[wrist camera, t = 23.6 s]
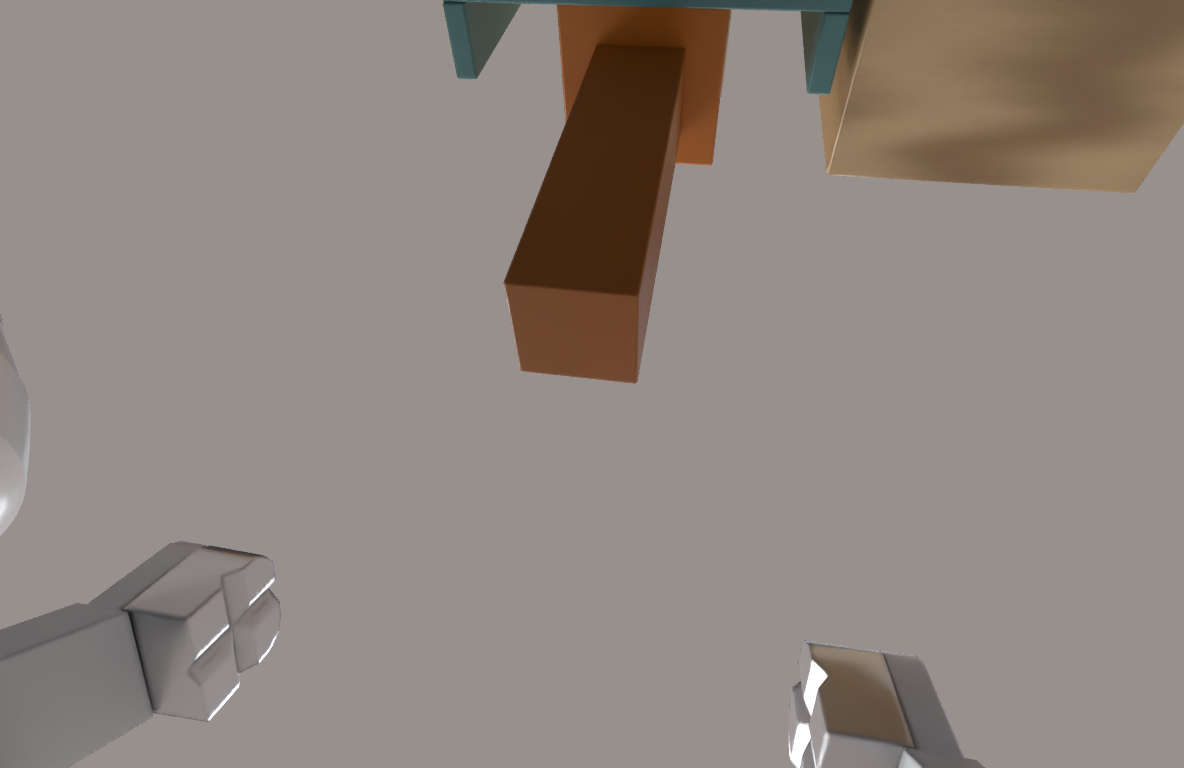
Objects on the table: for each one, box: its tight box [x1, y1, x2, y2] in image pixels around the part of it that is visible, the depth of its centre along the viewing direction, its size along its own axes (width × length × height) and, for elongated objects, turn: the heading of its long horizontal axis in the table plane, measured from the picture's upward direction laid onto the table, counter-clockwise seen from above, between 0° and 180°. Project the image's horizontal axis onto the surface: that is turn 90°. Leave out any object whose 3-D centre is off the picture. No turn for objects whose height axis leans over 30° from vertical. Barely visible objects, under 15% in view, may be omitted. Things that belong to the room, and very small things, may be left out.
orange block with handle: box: [504, 4, 732, 384], centre depth 19 cm, size 22×4×4 cm, turn 10°
